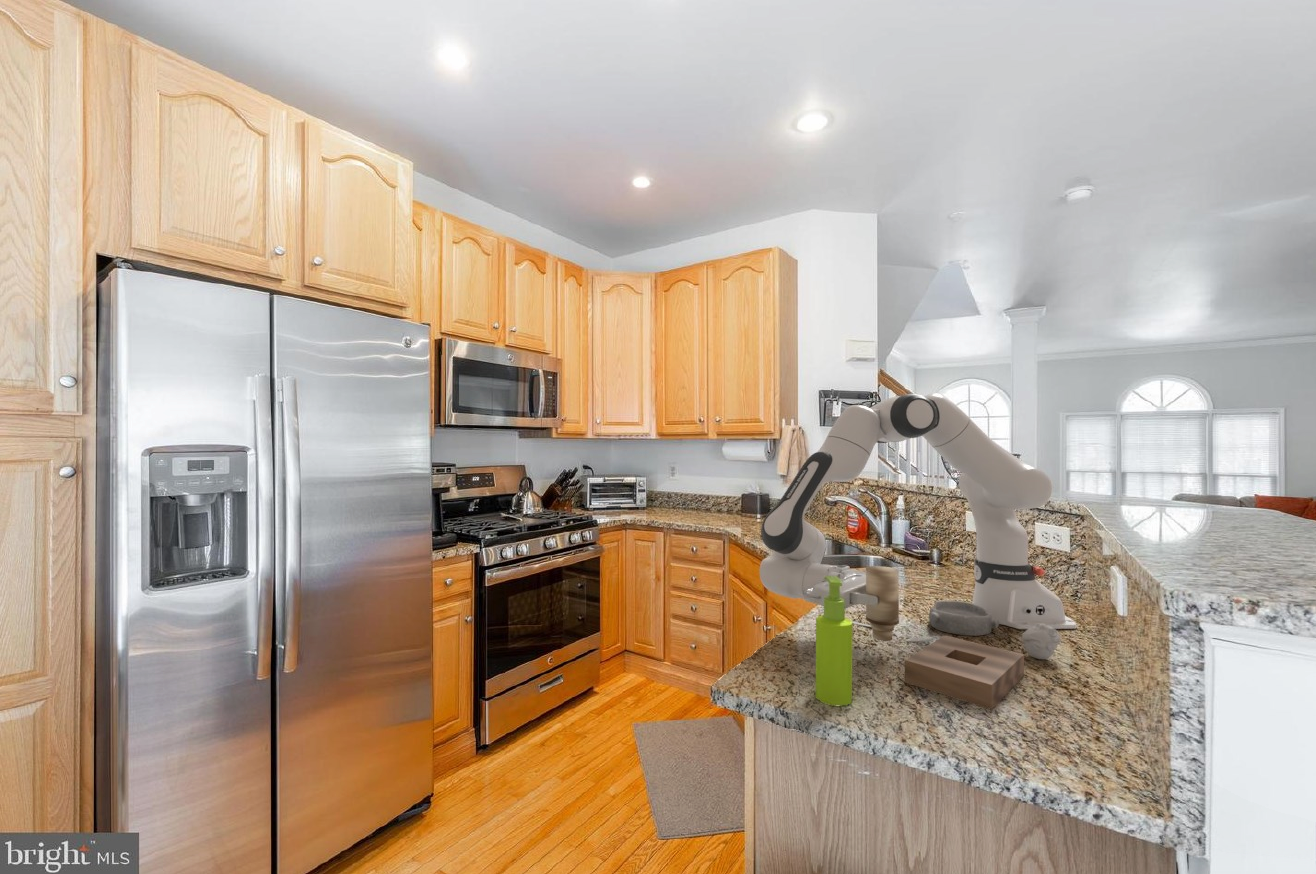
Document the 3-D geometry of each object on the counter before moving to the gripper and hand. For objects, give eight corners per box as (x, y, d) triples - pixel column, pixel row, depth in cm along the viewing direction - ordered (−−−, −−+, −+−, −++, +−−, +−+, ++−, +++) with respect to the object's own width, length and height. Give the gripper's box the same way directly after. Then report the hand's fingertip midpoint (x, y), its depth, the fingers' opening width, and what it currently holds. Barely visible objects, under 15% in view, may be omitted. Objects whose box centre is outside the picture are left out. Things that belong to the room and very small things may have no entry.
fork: (839, 617, 139) (839, 610, 139) (936, 646, 120) (936, 638, 120) (831, 619, 137) (831, 612, 137) (928, 649, 118) (928, 640, 118)
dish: (932, 634, 127) (932, 612, 127) (922, 617, 140) (922, 597, 140) (1004, 642, 122) (1004, 619, 122) (986, 623, 136) (986, 602, 136)
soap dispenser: (845, 688, 97) (846, 574, 97) (855, 707, 90) (856, 584, 90) (811, 686, 97) (812, 573, 98) (818, 705, 90) (820, 582, 91)
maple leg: (893, 633, 116) (893, 566, 116) (903, 643, 110) (903, 573, 110) (862, 631, 117) (862, 565, 117) (870, 642, 111) (870, 572, 111)
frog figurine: (1068, 664, 110) (1068, 629, 110) (1034, 664, 109) (1034, 629, 109) (1045, 652, 116) (1045, 619, 116) (1013, 653, 115) (1013, 619, 115)
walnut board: (944, 654, 114) (944, 635, 114) (1024, 675, 104) (1024, 654, 104) (904, 682, 100) (904, 660, 100) (991, 709, 90) (991, 685, 90)
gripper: (799, 578, 116) (862, 591, 106) (846, 564, 130) (906, 573, 120) (799, 608, 116) (863, 624, 106) (846, 590, 130) (906, 603, 120)
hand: (886, 597), depth 113 cm, fingers closed on maple leg, 6 cm apart
